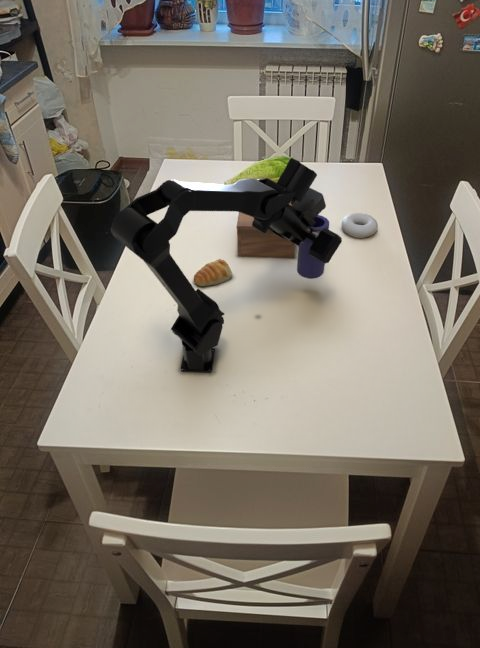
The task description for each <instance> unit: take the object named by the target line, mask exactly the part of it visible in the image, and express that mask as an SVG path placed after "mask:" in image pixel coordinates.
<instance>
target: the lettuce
mask: <svg viewBox="0 0 480 648" xmlns="http://www.w3.org/2000/svg"><path fill="white" fill-rule="evenodd" d="M291 158H293V159H295V158H294V157H291V156H287V155H278V156H272V157H269V158H265V159H261V160H258V161H256V162H254V163H252V164H250V165H248V166H247V167H245V168H243V169H241V170H240V171H239V172H237V173H236V174H234V175H233V176H232V177H231V178H229V179H227V180H226V181H224V185H231V184H234V183H236V182H237V181H238V180H244V179H250V178H253V179H256V180H259V179H263V178H268V179H270V180H272V181H274V182H276V183H277V181H278V179H279V178H280V176H281V175H282V173H283V171H284V170H285V168H286V166H287V164H288V162H289V160H290V159H291Z"/></svg>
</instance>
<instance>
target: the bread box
mask: <svg viewBox="0 0 480 648" xmlns="http://www.w3.org/2000/svg"><path fill="white" fill-rule="evenodd" d="M236 234H237V235H236V238H237V239H236V240H237V256H238V257H248V258H249V257H250V258H251V257H253V258H279V259H280V258H283V259H285V258H286V259H295V257H296V256H295V254H296V244H294V243H292V242H291V241H289V240H287V239H283V238H281V237H280V236H278V235H276V234H274V233H272V232H271V231H269V230H267V232H266V233H262V232H261V231H259V230H257V229H237V228H236Z"/></svg>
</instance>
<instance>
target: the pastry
mask: <svg viewBox="0 0 480 648" xmlns="http://www.w3.org/2000/svg"><path fill="white" fill-rule="evenodd" d="M232 277H233V272H232V269H231V268H230V265H229V264H228V263H227V261H226V260H225V259H221V258H218V259H216V260H214V261H211V262H208V263H206V264H205V265H204V266H202V267H201V268H200V269H198V270H197V272H195V274H194V275H193V283H194V284H195V285H197V286H200V287H203V288H204V287H209V286H217V285H219V284H222V283H224V282H227V281H229V280H230V279H231V278H232Z"/></svg>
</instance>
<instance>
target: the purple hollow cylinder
mask: <svg viewBox="0 0 480 648" xmlns="http://www.w3.org/2000/svg"><path fill="white" fill-rule="evenodd" d="M313 220H314V221H315V222H316V223H315V224H314V226H313V227H311V228H312V229H314V230H316V231H319V230H323V229H325V228H326V229H328V230H330V220H329V219H328V218H327V217H325V216H323V215H321V214H318V215H317V216H316V217H315V218H314V219H313ZM309 234H311V233H309ZM311 235H313V236H315V235H314V234H311ZM315 237H316V236H315ZM311 243H312V241H311V240H309V239H307V238H306V239H305V241H304V242H303V243H302V242H301V243H300V244H299V246H297V264H296V272H297V274H298V275H299V276H301V277H302V278H305V279H309V280H313V279H318V278H320V277H322V276H323V275H324V271H325V265H326V264H324V263H323V262H321V261H319V260H318V259H316V258H314V257H313V256H311V255H310V254H308V253H309V250H310V247H311V246H312V244H311Z"/></svg>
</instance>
